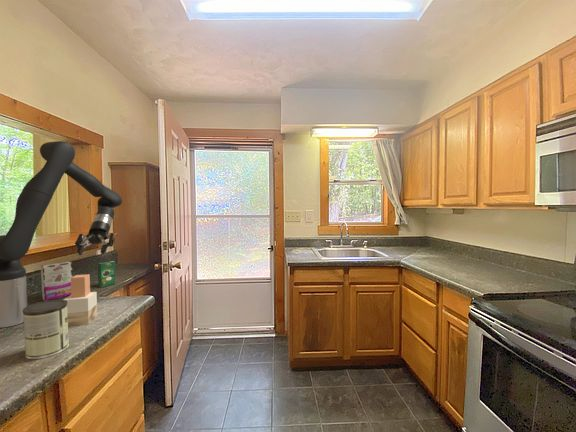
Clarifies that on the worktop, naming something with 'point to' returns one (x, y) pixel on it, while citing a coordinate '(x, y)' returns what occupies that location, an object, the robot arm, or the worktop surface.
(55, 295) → the candy bar box
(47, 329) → the coffee can
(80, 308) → the cream tower block
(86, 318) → the oak tower block
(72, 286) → the peach block
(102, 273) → the coffee box
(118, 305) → the worktop surface
